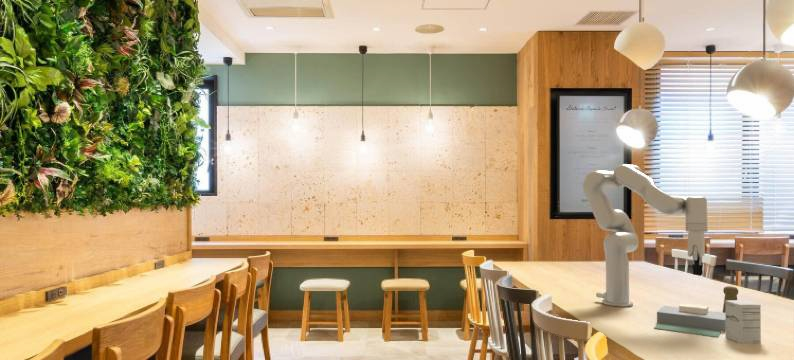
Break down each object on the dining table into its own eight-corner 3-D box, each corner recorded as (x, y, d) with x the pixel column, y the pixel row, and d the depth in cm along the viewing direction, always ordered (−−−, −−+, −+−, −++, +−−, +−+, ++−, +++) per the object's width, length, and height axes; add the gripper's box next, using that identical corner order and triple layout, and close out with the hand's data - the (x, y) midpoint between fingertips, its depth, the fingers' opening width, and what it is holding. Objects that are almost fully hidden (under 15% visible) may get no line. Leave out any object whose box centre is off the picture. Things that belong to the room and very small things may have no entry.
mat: (653, 328, 195) (653, 327, 195) (659, 323, 203) (659, 322, 203) (718, 337, 183) (718, 336, 183) (721, 331, 191) (721, 330, 191)
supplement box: (724, 337, 183) (724, 300, 183) (745, 337, 184) (744, 299, 184) (740, 343, 176) (739, 304, 176) (761, 343, 176) (761, 304, 177)
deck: (656, 322, 204) (656, 311, 204) (664, 315, 216) (664, 305, 216) (724, 331, 191) (724, 320, 191) (728, 324, 203) (728, 313, 203)
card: (679, 311, 206) (679, 305, 206) (681, 308, 211) (681, 303, 211) (706, 314, 201) (706, 308, 201) (708, 311, 205) (708, 306, 205)
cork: (742, 315, 217) (742, 288, 217) (725, 315, 218) (725, 287, 218) (736, 312, 222) (735, 285, 223) (720, 312, 224) (719, 285, 224)
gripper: (688, 226, 221) (689, 272, 221) (682, 228, 209) (683, 276, 209) (709, 227, 217) (711, 273, 216) (704, 228, 205) (706, 277, 204)
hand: (697, 274), depth 212 cm, fingers closed
